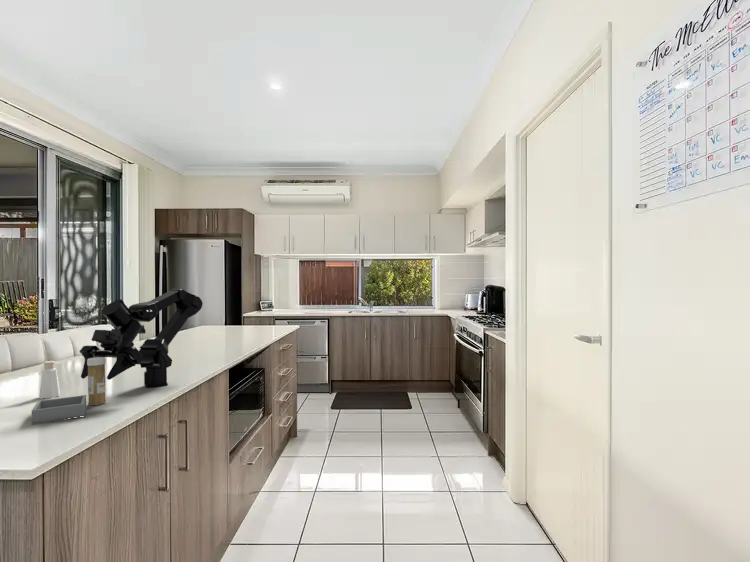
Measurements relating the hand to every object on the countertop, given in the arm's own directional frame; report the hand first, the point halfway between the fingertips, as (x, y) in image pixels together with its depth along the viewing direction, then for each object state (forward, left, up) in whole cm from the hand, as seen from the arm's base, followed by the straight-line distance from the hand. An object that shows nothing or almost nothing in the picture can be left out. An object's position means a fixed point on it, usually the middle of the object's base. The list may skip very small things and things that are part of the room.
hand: (94, 378), depth 128 cm
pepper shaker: (+13, -19, -8) cm, 24 cm away
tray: (+8, +8, -8) cm, 13 cm away
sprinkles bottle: (0, 0, -8) cm, 8 cm away
